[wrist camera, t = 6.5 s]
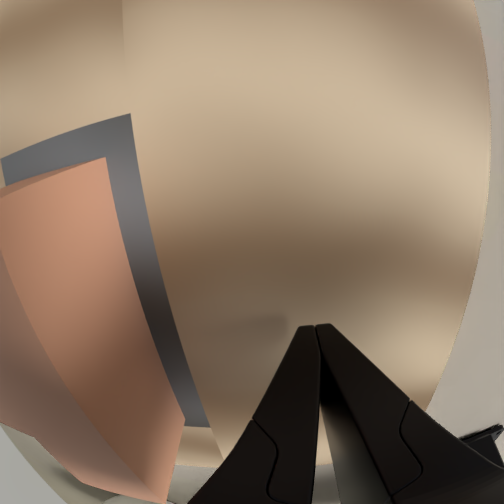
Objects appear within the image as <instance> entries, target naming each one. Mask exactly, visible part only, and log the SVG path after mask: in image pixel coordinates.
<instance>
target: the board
mask: <svg viewBox="0 0 504 504" xmlns="http://www.w3.org/2000/svg"><path fill="white" fill-rule="evenodd" d="M103 157H106V163H107V168H108V174H109V179H110V184H111V190H112V194H113V199H114V204H115V209H116V213H117V218H118V222H119V226H120V230H121V234H122V238H123V242H124V246H125V250H126V254H127V258H128V261H129V265H130V269H131V272H132V276H133V279H134V282H135V286H136V289H137V292H138V296H139V299H140V302H141V305H142V308H143V311H144V314H145V318H146V321H147V323H148V326H149V329H150V332H151V335H152V338H153V341H154V343H155V346H156V349H157V352H158V354H159V357H160V360H161V362H162V365H163V367H164V370H165V373H166V375H167V378H168V380H169V383H170V385H171V387H172V390H173V392H174V395H175V397H176V399H177V402H178V404H179V406H180V408H181V411H182V413H183V415H184V417H185V423H184V427H183V431H182V435H181V439H180V444H179V448H178V452H177V456H176V461H175V464H179V465H189V466H200V467H214V468H219V466H220V465H221V464H222V462H223V461H224V460H225V458H226V457H227V456H228V455H229V453H230V452H231V451H232V449H233V448H234V446H235V444H236V443H237V441H238V440H239V438H240V436H241V435H242V433H243V432H244V430H245V428H246V426H247V424H248V423H249V421H250V420H252V416H253V414H254V412H255V410H256V409H257V407H258V405H259V403H260V401H261V399H262V397H263V396H264V394H265V392H266V390H267V388H268V386H269V384H270V382H271V380H272V378H273V376H274V374H275V372H276V371H277V369H278V367H279V365H280V363H281V361H282V359H283V357H284V355H285V353H286V351H287V349H288V347H289V344H290V342H291V340H292V338H293V336H294V334H295V332H296V330H297V328H298V327H299V326H303V325H314V326H315V325H317V324H324V323H331V324H332V325H333V326H334V327H335V328H337V329H338V330H339V331H340V332H341V333H342V334H343V335H344V336H345V337H346V338H347V339H348V340H349V341H350V342H351V343H352V344H353V345H355V346H356V347H357V348H358V349H359V350H360V351H361V352H362V353H363V354H364V355H365V356H366V357H367V358H368V359H369V360H370V361H371V362H373V363H374V364H375V365H376V366H377V367H378V368H379V369H380V370H381V371H382V372H383V373H384V374H385V375H386V376H387V377H388V378H389V379H390V380H392V381H393V382H394V383H395V384H396V385H397V386H398V387H399V388H400V389H401V390H402V391H403V392H404V393H405V394H406V395H407V396H408V397H409V398H410V400H413V401H414V402H415V403H416V404H417V405H418V406H419V407H420V408H421V409H422V410H423V411H426V409H427V407H428V405H429V403H430V401H431V399H432V396H433V394H434V392H435V390H436V388H437V385H438V383H439V381H440V379H441V376H442V374H443V371H444V369H445V367H446V364H447V362H448V359H449V356H450V354H451V351H452V348H453V346H454V343H455V340H456V337H457V334H458V331H459V328H460V325H461V322H462V319H463V316H464V313H465V309H466V306H467V302H468V299H469V295H470V291H471V287H472V284H473V280H474V275H475V271H476V267H477V262H478V257H479V252H480V247H481V242H482V236H483V230H484V223H485V216H486V209H487V200H488V190H489V178H490V160H491V112H490V95H489V83H488V74H487V66H486V59H485V52H484V46H483V40H482V35H481V30H480V25H479V21H478V16H477V12H476V8H475V4H474V1H473V0H0V189H1V188H3V187H6V186H8V185H11V184H13V183H15V182H18V181H21V180H24V179H27V178H30V177H33V176H37V175H40V174H43V173H46V172H50V171H53V170H57V169H60V168H64V167H67V166H71V165H75V164H79V163H83V162H87V161H91V160H95V159H99V158H103ZM325 464H333V462H332V458H331V453H330V449H329V444H328V439H327V435H326V430H325V426H324V422H323V417H322V413H321V408H320V413H319V429H318V443H317V456H316V465H325Z"/></svg>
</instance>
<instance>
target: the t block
mask: <svg viewBox="0 0 504 504" xmlns="http://www.w3.org/2000/svg"><path fill="white" fill-rule="evenodd" d="M0 422H1V423H3V424H5V425H7V426H9V427H12V428H14V429H16V430H18V431H20V432H23V433H25V434H27V435H30V436H32V437H35V439H36V440H37V441H38V442H39V443H40V444H41V445H42V446H43V447H44V448H45V449H46V450H47V451H48V452H49V453H50V454H51V455H52V456H53V457H54V458H55V459H56V460H57V461H58V462H59V463H60V464H61V465H62V466H64V467H65V468H66V469H67V470H68V471H69V472H70V473H71V474H72V475H74V476H75V477H76V478H77V479H78V480H79V481H81V482H82V483H84V484H87V485H90V486H93V487H96V488H100V489H103V490H106V491H110V492H113V493H117V494H121V495H125V496H129V497H133V498H137V499H142V500H146V501H151V502H156V503H161V504H166V501H167V496H168V492H169V487H170V483H171V478H172V474H173V469H174V465H175V461H176V456H177V452H178V448H179V444H180V439H181V435H182V431H183V427H184V423H185V417H184V415H183V413H182V411H181V408H180V406H179V404H178V402H177V399H176V397H175V395H174V392H173V390H172V387H171V385H170V383H169V380H168V378H167V375H166V373H165V370H164V367H163V365H162V362H161V360H160V357H159V354H158V352H157V349H156V346H155V343H154V341H153V338H152V335H151V332H150V329H149V326H148V323H147V321H146V318H145V314H144V311H143V308H142V305H141V302H140V299H139V296H138V292H137V289H136V286H135V282H134V279H133V276H132V272H131V269H130V265H129V261H128V258H127V254H126V250H125V246H124V242H123V238H122V234H121V230H120V226H119V222H118V218H117V213H116V209H115V204H114V199H113V194H112V190H111V184H110V179H109V174H108V168H107V163H106V157H103V158H99V159H95V160H91V161H87V162H83V163H79V164H75V165H71V166H67V167H64V168H60V169H57V170H53V171H50V172H46V173H43V174H40V175H37V176H33V177H30V178H27V179H24V180H21V181H18V182H15V183H13V184H11V185H8V186H6V187H3V188H1V189H0Z"/></svg>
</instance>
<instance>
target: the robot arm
mask: <svg viewBox="0 0 504 504" xmlns="http://www.w3.org/2000/svg"><path fill="white" fill-rule="evenodd" d="M320 408H321V413H322V417H323V422H324V426H325V430H326V435H327V439H328V444H329V449H330V453H331V458H332V462H333V467H334V472H335V477H336V481H337V486H338V491H339V496H340V501H341V504H504V462H503V460H502V458H501V455H500V453H499V451H498V448H497V446H496V444H495V440H496V439H497V438H498V437H499V435H500V434H501V433H502V432H503V430H504V427H503V425H499V426H497V427H495V428H493V429H491V430H488V431H486V432H484V433H481V434H479V435H476V436H474V437H471V438H469V439H466V440H464V441H461V440H459V439H458V438H457V437H455V436H454V435H452V434H451V433H450V432H449V431H447V430H446V429H445V428H443V427H442V426H441V425H440V424H438V423H437V422H436V421H435V420H434V419H432V418H431V417H430V416H429V415H428V414H427V413H426V412H425V411H423V410H422V409H421V408H420V407H419V406H418V405H417V404H416V403H415V402H414V401H413V400H410V398H409V397H408V396H407V395H406V394H405V393H404V392H403V391H402V390H401V389H400V388H399V387H398V386H397V385H396V384H395V383H394V382H393V381H392V380H390V379H389V378H388V377H387V376H386V375H385V374H384V373H383V372H382V371H381V370H380V369H379V368H378V367H377V366H376V365H375V364H374V363H373V362H371V361H370V360H369V359H368V358H367V357H366V356H365V355H364V354H363V353H362V352H361V351H360V350H359V349H358V348H357V347H356V346H355V345H353V344H352V343H351V342H350V341H349V340H348V339H347V338H346V337H345V336H344V335H343V334H342V333H341V332H340V331H339V330H338V329H337V328H335V327H334V326H333V325H332V324H331V323H324V324H317V325H315V326H314V325H303V326H299V327H298V328H297V330H296V332H295V334H294V336H293V338H292V340H291V342H290V344H289V347H288V349H287V351H286V353H285V355H284V357H283V359H282V361H281V363H280V365H279V367H278V369H277V371H276V372H275V374H274V376H273V378H272V380H271V382H270V384H269V386H268V388H267V390H266V392H265V394H264V396H263V397H262V399H261V401H260V403H259V405H258V407H257V409H256V410H255V412H254V414H253V416H252V420H250V421H249V423H248V424H247V426H246V428H245V430H244V432H243V433H242V435H241V436H240V438H239V440H238V441H237V443H236V444H235V446H234V448H233V449H232V451H231V452H230V453H229V455H228V456H227V457H226V458H225V460H224V461H223V462H222V464H221V465H220V466H219V468H218V469H217V470H216V471H215V472H214V474H213V475H212V476H211V477H210V478H209V479H208V481H207V482H206V483H205V484H204V485H203V486H202V487H201V489H200V490H199V491H198V492H197V493H196V494H195V495H194V496H193V498H192V499H191V500H190V501H189V502H188V503H187V504H312V496H313V487H314V478H315V467H316V456H317V443H318V429H319V413H320Z"/></svg>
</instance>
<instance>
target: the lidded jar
mask: <svg viewBox="0 0 504 504" xmlns="http://www.w3.org/2000/svg"><path fill="white" fill-rule="evenodd" d="M101 504H161V503H156V502H151V501H146V500H142V499H137V498H133V497H129V496H125V495H118V496H115V497H112V498H110V499H107V500H106V501H104V502H103V503H101ZM166 504H174V503H172V502H170V501H166Z"/></svg>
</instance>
